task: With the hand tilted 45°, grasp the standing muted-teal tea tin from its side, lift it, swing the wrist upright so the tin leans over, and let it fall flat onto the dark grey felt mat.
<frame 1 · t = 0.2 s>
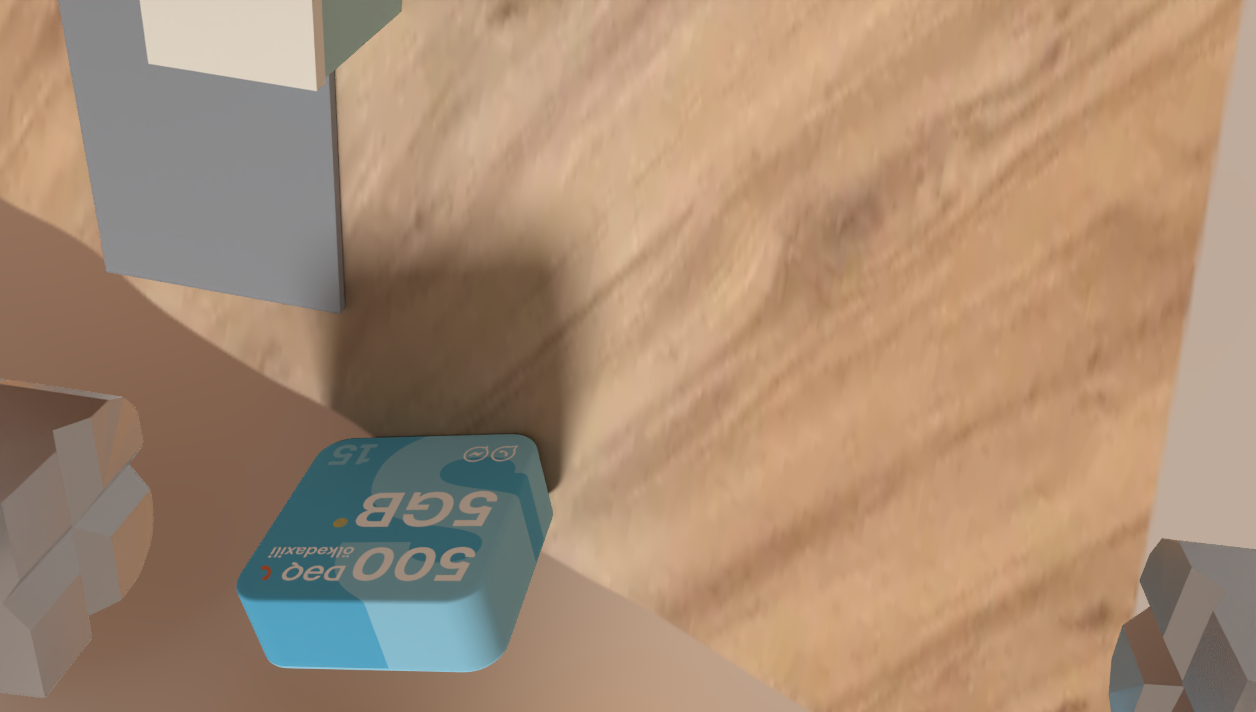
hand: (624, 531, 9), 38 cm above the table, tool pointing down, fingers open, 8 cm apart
felt mat: (213, 155, 53), on the table
data package: (444, 466, 61), on the table
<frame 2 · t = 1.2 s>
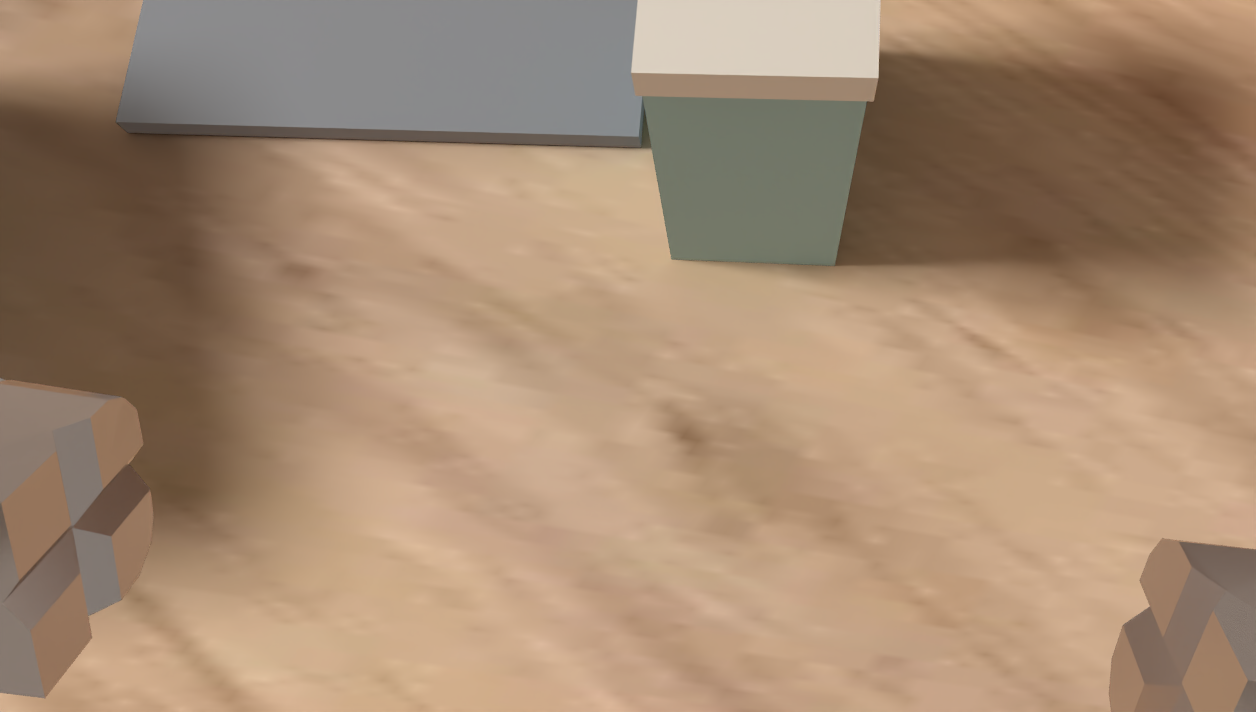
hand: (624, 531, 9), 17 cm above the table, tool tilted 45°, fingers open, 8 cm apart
tea tin: (758, 151, 29), on the table
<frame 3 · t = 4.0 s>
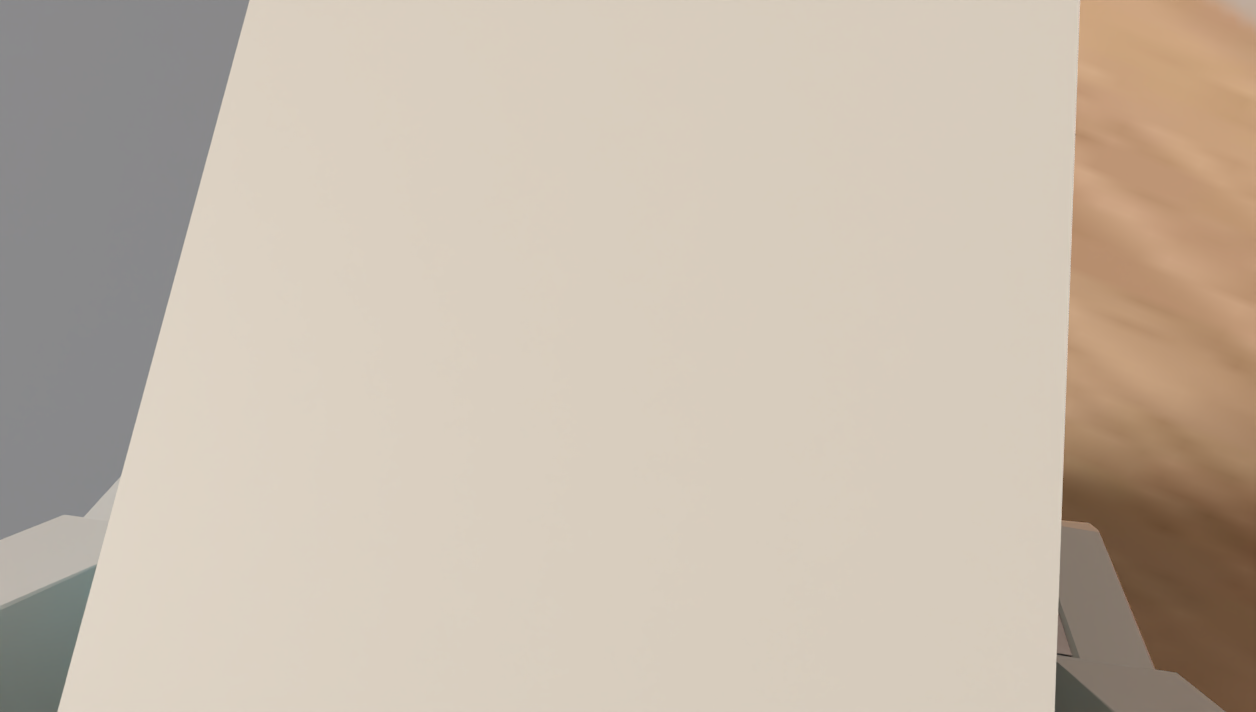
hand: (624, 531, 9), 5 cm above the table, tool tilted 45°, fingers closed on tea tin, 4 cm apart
tea tin: (630, 642, 14), on the table, touching gripper
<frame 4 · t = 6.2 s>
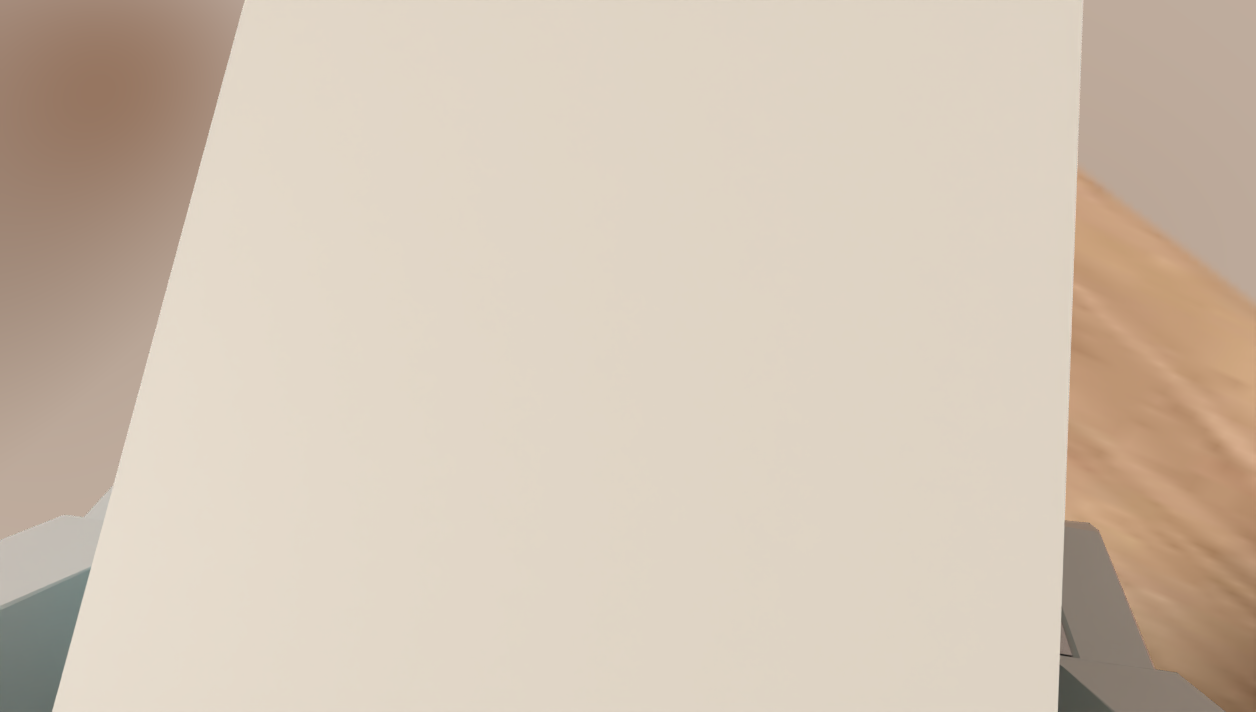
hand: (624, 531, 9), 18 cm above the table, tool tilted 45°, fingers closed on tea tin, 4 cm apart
tea tin: (630, 639, 14), point 13 cm above the table, touching gripper
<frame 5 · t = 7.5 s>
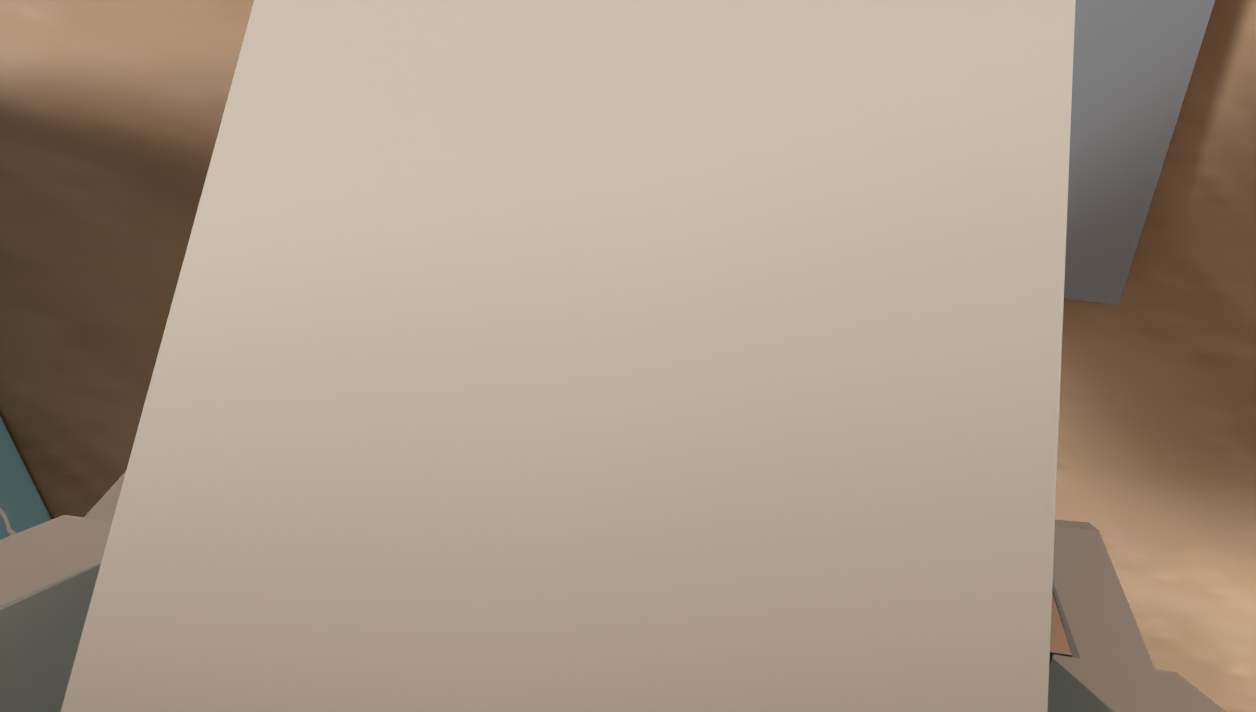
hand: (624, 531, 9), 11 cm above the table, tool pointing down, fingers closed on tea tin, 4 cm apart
tea tin: (632, 644, 14), point 8 cm above the table, tilted 45°, touching gripper
when the fingers open (7 cm above the table, at t = 8.6 s): tea tin moves 2 cm and tips over, resting on felt mat.
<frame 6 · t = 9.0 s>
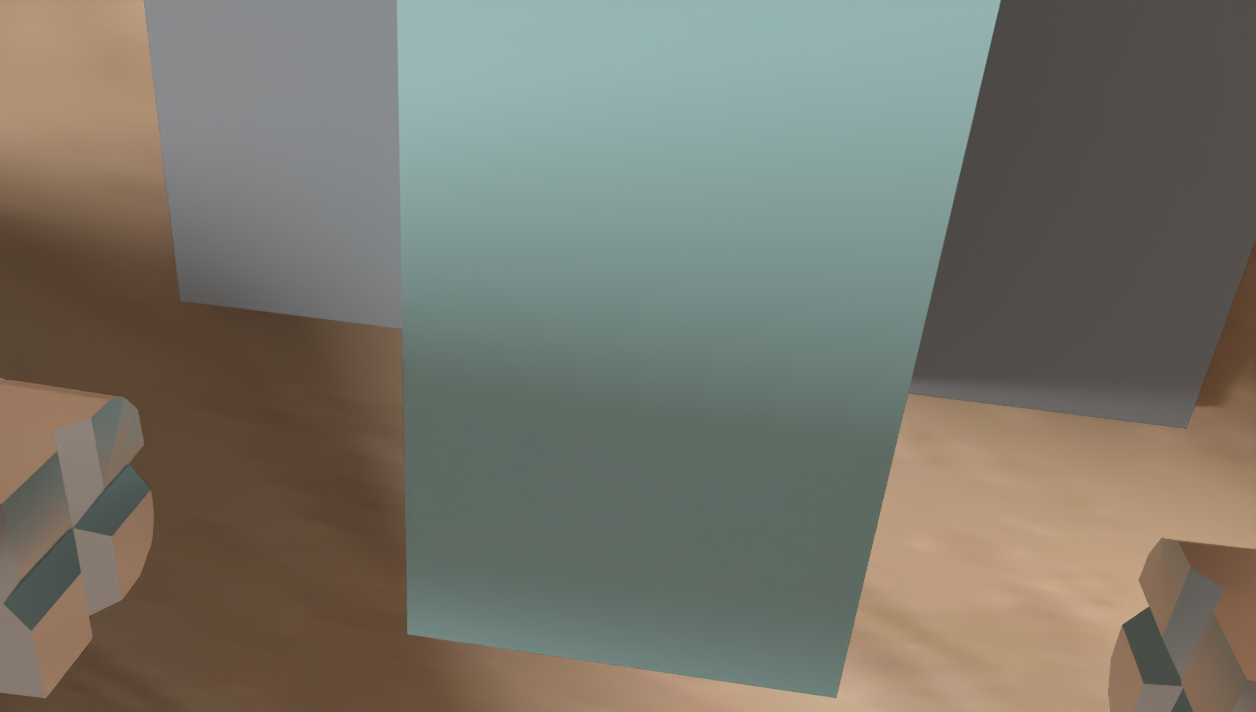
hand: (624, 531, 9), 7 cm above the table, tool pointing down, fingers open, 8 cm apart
tea tin: (652, 479, 13), point 4 cm above the table, tilted 89°, touching felt mat
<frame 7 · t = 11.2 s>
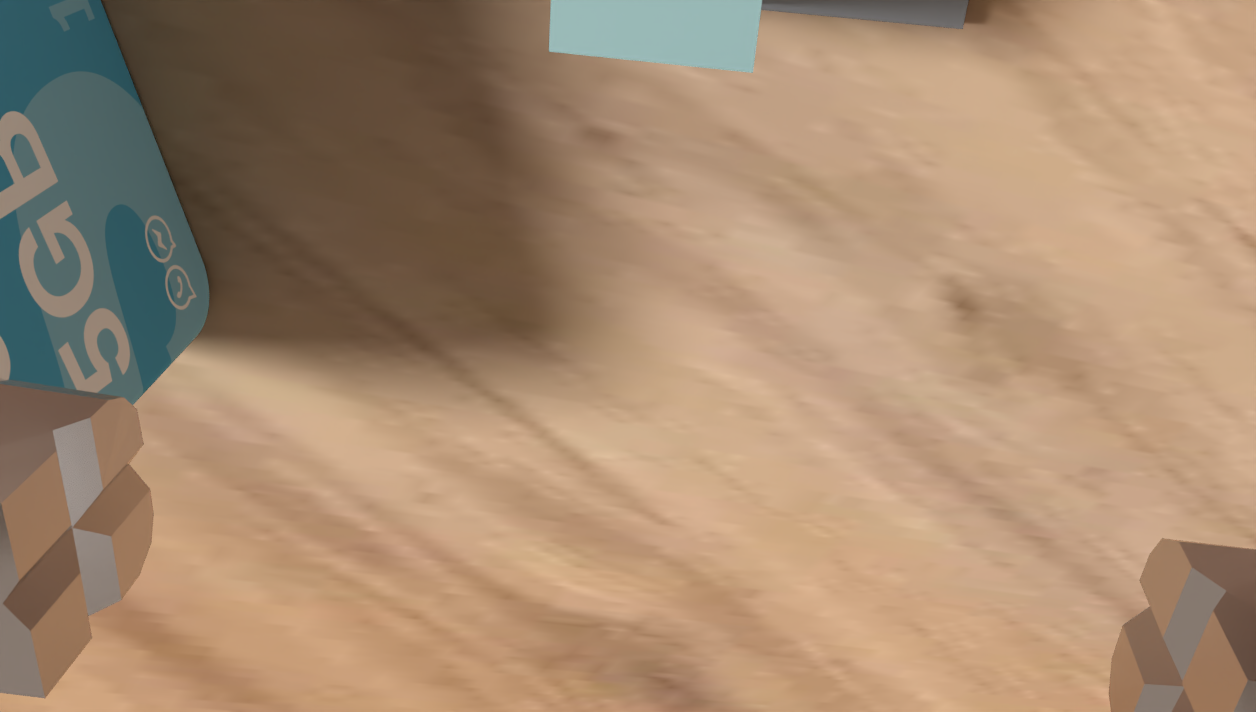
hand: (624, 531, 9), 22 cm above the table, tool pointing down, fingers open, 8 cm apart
tea tin: (662, 25, 25), point 4 cm above the table, tilted 89°, touching felt mat
data package: (79, 124, 32), on the table
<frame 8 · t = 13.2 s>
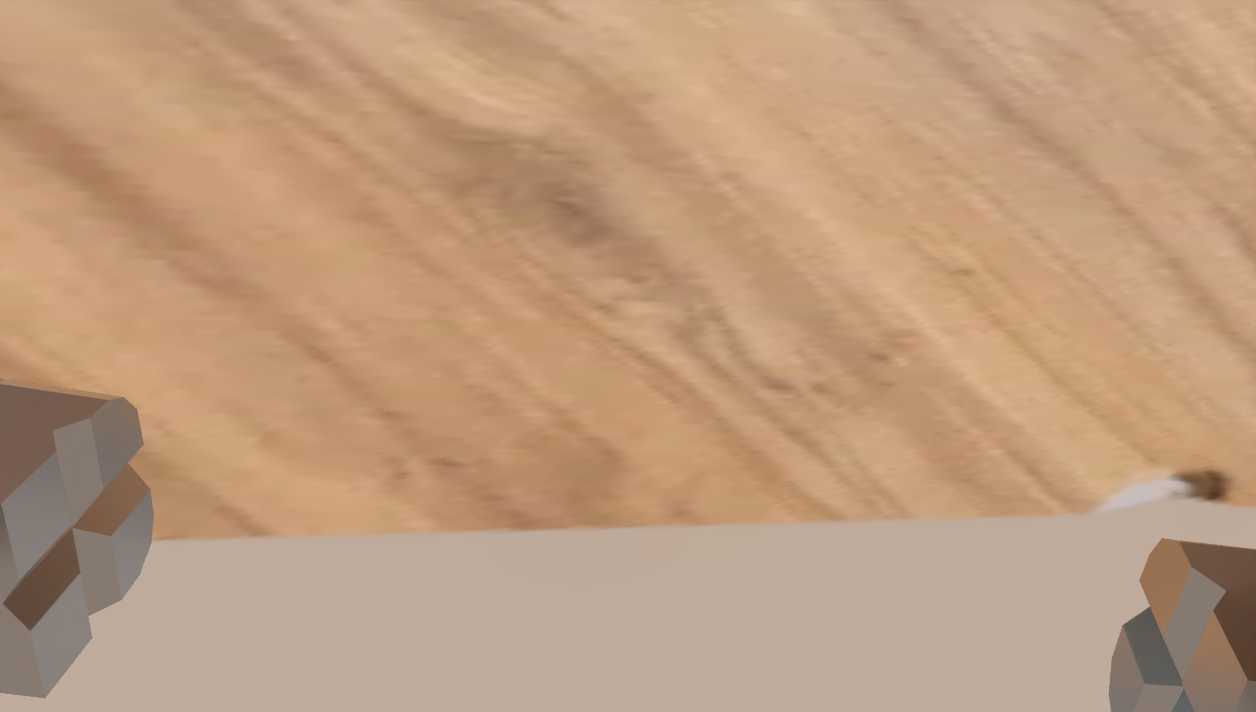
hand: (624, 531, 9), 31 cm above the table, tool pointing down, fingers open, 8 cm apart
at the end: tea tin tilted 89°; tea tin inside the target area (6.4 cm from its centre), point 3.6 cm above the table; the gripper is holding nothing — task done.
